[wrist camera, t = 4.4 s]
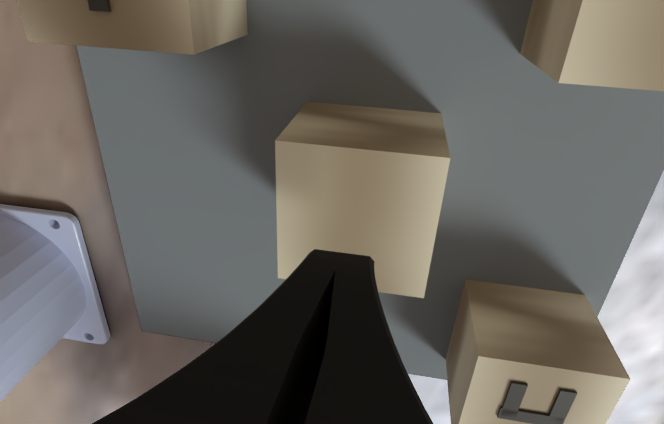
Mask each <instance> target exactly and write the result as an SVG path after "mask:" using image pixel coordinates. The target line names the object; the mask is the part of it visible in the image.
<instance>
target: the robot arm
mask: <svg viewBox="0 0 664 424" xmlns="http://www.w3.org/2000/svg"><path fill="white" fill-rule="evenodd" d="M56 221H57V222H58V223H59V224H58V223H57V222H56ZM61 338H64V339H70V340H76V341H82V342H88V343H94V344H105V343H106V342H107V341H108V340H109V339H110V332H109V328H108V325H107V321H106V318H105V314H104V310H103V307H102V303H101V299H100V296H99V292H98V289H97V285H96V281H95V278H94V274H93V271H92V267H91V263H90V260H89V256H88V252H87V249H86V245H85V242H84V238H83V234H82V231H81V227H80V224H79V221H78V219H77V218H76V217H75V216H74V215H72V214H70V213H67V212H59V211H52V210H44V209H36V208H28V207H20V206H12V205H5V204H0V402H1V401H2V400H3V399H4V398H5V397H6V396H7V395H8V393H9V392H10V391H11V390H12V389H13V388H14V387H15V386H16V385H17V384H18V383H19V382H20V381H21V380H22V379H23V378H24V377H25V376H26V375H27V374H28V373H29V372H30V371H31V370H32V369H33V367H34V366H35V365H36V364H37V363H38V362H39V361H40V360H41V359H42V358H43V357H44V356H45V355H46V354H47V353H48V352H49V351H50V350H51V349H52V348H53V347H54V346H55V345H56V344H57V342H58V341H59V340H60V339H61ZM92 424H433V422H432V421H431V419H430V417H429V415H428V413H427V412H426V410H425V408H424V406H423V404H422V402H421V400H420V398H419V396H418V394H417V392H416V390H415V388H414V386H413V384H412V382H411V380H410V378H409V376H408V373H407V371H406V369H405V367H404V365H403V362H402V360H401V357H400V355H399V353H398V350H397V348H396V345H395V343H394V340H393V337H392V335H391V332H390V329H389V326H388V323H387V320H386V317H385V314H384V311H383V308H382V305H381V301H380V297H379V293H378V289H377V285H376V279H375V272H374V260H373V259H372V258H371V257H370V256H365V255H357V254H349V253H341V252H333V251H326V250H318V249H314V250H313V251H311V252H310V253H309V254H308V255H307V256H306V258H305V259H304V260H303V261H302V262H301V263H300V265H299V266H298V267H297V268H296V269H295V270H294V271H293V272H292V273H291V275H290V276H289V277H288V278H287V279H286V280H285V281H284V282H283V283H282V284H281V285H280V286H279V287H278V288H277V289H276V290H275V291H274V292H273V293H272V294H271V295H270V296H269V297H268V298H267V299H266V300H265V301H264V302H263V303H262V304H261V305H260V306H259V307H258V308H257V309H256V310H254V311H253V312H252V313H251V314H250V315H249V316H248V317H246V318H245V319H244V320H243V321H242V322H241V323H240V324H238V325H237V326H236V327H235V328H234V329H233V330H232V331H231V332H229V333H228V334H227V335H226V336H224V337H223V338H222V339H221V340H219V341H218V342H217V343H216V344H214V345H213V346H212V347H211V348H209V349H208V350H207V351H205V352H204V353H203V354H201V355H200V356H199V357H197V358H196V359H194V360H193V361H192V362H190V363H189V364H188V365H186V366H185V367H183V368H182V369H180V370H179V371H177V372H176V373H174V374H173V375H171V376H170V377H168V378H167V379H165V380H164V381H162V382H161V383H159V384H158V385H156V386H155V387H154V388H152V389H150V390H149V391H147V392H146V393H144V394H142V395H141V396H139V397H138V398H136V399H134V400H133V401H131V402H129V403H128V404H126V405H124V406H123V407H121V408H119V409H117V410H116V411H114V412H112V413H110V414H108V415H107V416H105V417H103V418H101V419H100V420H98V421H96V422H94V423H92Z"/></svg>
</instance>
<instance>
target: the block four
mask: <svg viewBox="0 0 664 424" xmlns="http://www.w3.org/2000/svg"><path fill="white" fill-rule="evenodd" d="M446 369H447V381H448V392H449V404H450V416H451V424H606V422H607V420H608V419H609V417H610V415H611V413H612V411H613V410H614V408H615V406H616V404H617V402H618V401H619V399H620V397H621V395H622V393H623V391H624V390H625V388H626V386H627V384H628V382H629V381H630V378H629V376H628V374H627V372H626V370H625V368H624V367H623V365H622V363H621V361H620V359H619V357H618V355H617V354H616V352H615V350H614V348H613V346H612V344H611V342H610V340H609V339H608V337H607V335H606V333H605V331H604V329H603V327H602V326H601V324H600V322H599V320H598V318H597V316H596V314H595V312H594V311H593V309H592V307H591V305H590V303H589V301H588V299H587V298H586V296H585V295H581V294H573V293H566V292H558V291H551V290H543V289H536V288H528V287H520V286H513V285H505V284H498V283H490V282H482V281H475V280H467V279H465V282H464V286H463V290H462V295H461V299H460V303H459V307H458V311H457V315H456V319H455V323H454V327H453V332H452V336H451V340H450V344H449V348H448V352H447V356H446Z"/></svg>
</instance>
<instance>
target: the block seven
mask: <svg viewBox="0 0 664 424" xmlns="http://www.w3.org/2000/svg"><path fill="white" fill-rule="evenodd" d="M520 54H521V55H522V56H523V57H525V58H526V59H527V60H529V61H530V62H531V63H533V64H534V65H535V66H537V67H538V68H539V69H541V70H542V71H543V72H544V73H546V74H547V75H548V76H550V77H551V78H552V79H554V80H555V81H556V82H558V83H564V84H577V85H590V86H603V87H616V88H629V89H642V90H654V91H664V0H533V2H532V6H531V10H530V14H529V19H528V23H527V27H526V31H525V35H524V39H523V43H522V47H521V51H520Z"/></svg>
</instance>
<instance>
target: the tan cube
mask: <svg viewBox="0 0 664 424" xmlns="http://www.w3.org/2000/svg"><path fill="white" fill-rule="evenodd" d="M16 1H17V5H18V8H19V12H20V15H21V19H22V23H23V26H24V30H25V33H26V37H27V41H28V42H37V43H50V44H63V45H76V46H88V47H101V48H114V49H127V50H140V51H153V52H166V53H179V54H191V55H195V54H197V53H200V52H203V51H205V50H208V49H211V48H213V47H216V46H219V45H221V44H224V43H227V42H229V41H232V40H235V39H237V38H240V37H243V36H246V35H248V30H247V8H246V0H16Z"/></svg>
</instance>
